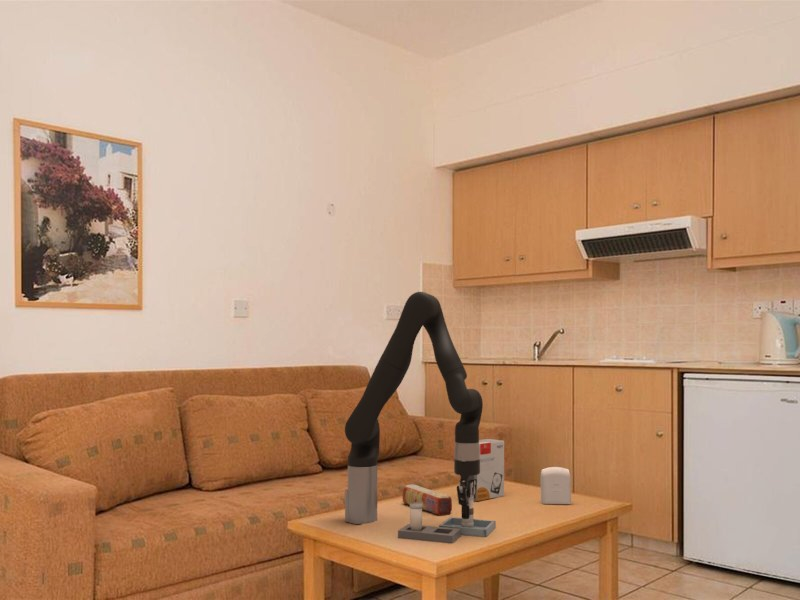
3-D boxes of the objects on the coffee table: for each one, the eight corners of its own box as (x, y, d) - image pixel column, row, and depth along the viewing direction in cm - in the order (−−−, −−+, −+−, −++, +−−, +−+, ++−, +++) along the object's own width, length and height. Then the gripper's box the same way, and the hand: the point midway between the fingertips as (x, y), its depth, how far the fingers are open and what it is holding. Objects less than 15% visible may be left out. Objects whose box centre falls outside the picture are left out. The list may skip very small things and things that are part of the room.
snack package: (454, 514, 239) (453, 493, 239) (437, 517, 235) (437, 495, 236) (417, 502, 257) (417, 482, 257) (401, 504, 253) (401, 484, 254)
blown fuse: (460, 526, 215) (459, 495, 216) (463, 524, 219) (463, 493, 219) (472, 528, 214) (471, 496, 215) (475, 525, 217) (475, 494, 218)
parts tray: (438, 534, 214) (438, 525, 214) (450, 525, 224) (450, 517, 224) (486, 538, 209) (486, 529, 209) (495, 529, 219) (495, 520, 219)
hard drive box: (476, 502, 256) (475, 444, 257) (460, 498, 261) (459, 442, 263) (505, 495, 266) (504, 440, 267) (488, 492, 272) (488, 438, 273)
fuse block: (397, 539, 208) (397, 530, 208) (407, 532, 216) (407, 524, 216) (452, 545, 202) (452, 535, 202) (460, 537, 210) (460, 528, 210)
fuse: (408, 536, 209) (407, 504, 210) (412, 533, 213) (412, 501, 213) (420, 537, 208) (419, 505, 209) (424, 534, 211) (424, 502, 212)
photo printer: (541, 504, 252) (540, 467, 253) (540, 502, 256) (539, 465, 257) (572, 505, 251) (571, 468, 252) (570, 502, 255) (570, 466, 256)
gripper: (461, 453, 225) (461, 510, 225) (447, 460, 212) (447, 521, 211) (485, 454, 223) (486, 512, 222) (473, 462, 210) (473, 523, 209)
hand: (467, 516), depth 217 cm, fingers closed on blown fuse, 3 cm apart
